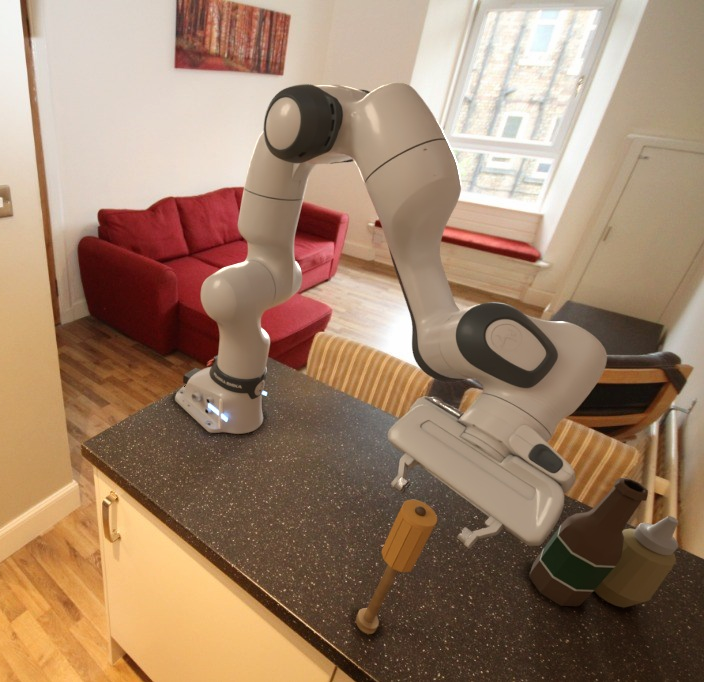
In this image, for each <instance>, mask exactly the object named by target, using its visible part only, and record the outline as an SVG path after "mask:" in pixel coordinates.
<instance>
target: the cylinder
mask: <svg viewBox="0 0 704 682" xmlns="http://www.w3.org/2000/svg"><path fill="white" fill-rule="evenodd" d="M437 522H438V516H437V514H436V512H435V510H434V509H433V508H432V507H431V506H429V504H427V503H426V502H423V501H420V500H418V499H407V500H405V501H404V502H403V503H402V505H401V508H400V509H399V511H398V513H397V516H396V518H395V520H394V522H393V524H392V526H391V529H390V531H389V533H388V535H387V538H386V540H385V541H384V545H383V547H382V548H381V556H382V559H383V561H384V562H385V563H386V564H387V565H389V566H390V567H391V568H392V569H395V570H397V571H398V572H399V573H408V572H409V573H410V572H412V570H413V569H414V567H415V565H416V563H417V561H418V559H419V557H420V555H421V554H422V551H423V549H424V547H425V545H426V543H427V542H428V540H429V538H430V537H431V534H432V532H433V530H434V528H435V527H436V524H437Z"/></svg>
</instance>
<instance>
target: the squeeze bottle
mask: <svg viewBox="0 0 704 682" xmlns="http://www.w3.org/2000/svg"><path fill="white" fill-rule="evenodd" d="M678 524H679V520H678V519H677V518H675V517H674V516H672V515H668V516H666V517H664V518H662V519H661V520H659V521H657V522H656V523H654V524H652V523H650V522H641V523H639V524H638V525H637V527H635V528H625V529H624V528H623V531H622V533H623V536H624V541H623V549H622V556H621V559H620V560H619V562H618V563H617V565H616V566H615V567H614V568H613V570H612V571H611V572H610V573H609V574H608V575H607V576H606V577H605V579H604V580H603V581H602V582H601V583H600V584H599V585H598V587H597V588H596V589H595V590H594V591H593V592H594V593H595V595H597V596H598V597H599V598H601V599H602V600H604V601H605V602H606V603H608V604H611V605H613V606H615V607H619V608H628V607H632V606H635V605H638V604H643V603H646V602H649V601H650V600H651V599H652V598H653V596H654V594H655V593H656V592H657V590H658V589H659V587H660V586H661V585H662V583H663V582H664V581H665V578H666V577H667V576H668V575H669V573H670V571H672V569H673V567H674V566H675V564H676V563H677V558H676V555H675V553H674V552H676V550H678V548H679V543H678V540H677V539H676V538H675V537H674V534H675V531H676V529H677V526H678Z"/></svg>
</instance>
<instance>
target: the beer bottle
mask: <svg viewBox="0 0 704 682" xmlns="http://www.w3.org/2000/svg"><path fill="white" fill-rule="evenodd" d="M648 495H649V490H648V489H647V488H646V486H644V485H642V484H641V483H640V482H638V481H636V480H633V479H631V478H628V477H619V478H617V479H615V480H614V485H613V487H612V488H611V489H610V490H609V491H608V493H606V494H605V496H604V497H602V499H601V500H600V501H599V502H598V503H597V505H596V506H594V507H593V508H592V509H590V510H589V511H586V512H578V513H574V514H572V515H570V516H568V517H566V518H565V519H564V521H563V522H562V523H561V524H560V525H559V526H558V528H557V530H556V531H555V532H554V533H553V535H552V537H550V539H549V540H548V542H547V543H546V544H545V546H544V547H543V548H542V550H541V551H540V553H539V554H538V556H537V557H536V558H535V560H534V562H533V563H532V565H531V569H530V571H529V575H528V577H529V579H530V581H531V582H532V583H533V585H534V586H535V588H536V590H537V591H538V592H539V594H541V595H542V596H544V597H545V598H547V599H549V600H550V601H552V602H554V603H555V604H557V605H558V606H561V607H580V606H581V605H582V604H583V603H584V602H585V601H586V600H587V599H588V598H589V597H590V596H591V595H592V593H593V592H594V590H595V589H596V588H597V587H598V585H599V584H600V583H601V582H602V581H603V580H604V579H605V577H606V576H607V575H608V574H609V573H610V572H611V571H612V570H613V568H614V567H615V566H616V565H617V563H618V562H619V560H620V559H621V556H622V549H623V541H624V536H623V533H622V531H623V530H624V528H625V526H626V525H627V523H629V521H630V519H631V518H632V516H633V515H634V513H635V512H636V511H637V509H638V507H639V506H640V505H641V503H642V501H643V502H644V501H645V502H646V501H647V499H648Z"/></svg>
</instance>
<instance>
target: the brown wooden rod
mask: <svg viewBox="0 0 704 682" xmlns="http://www.w3.org/2000/svg"><path fill="white" fill-rule="evenodd" d="M398 573H399V571H397V570H395V569H392V568H391V567H390V566H389V565H388V564H387V565H386V568H385V571H384V572H383V574H382V576H381V578H380V580H379V583H378V584H377V587H376V588H375V591H374V593H373V595H372V597H371V600H370V601H369V603H368V605H367V608H365V607H364V608H361V609H359V610H358V612H357V614H356V616H355V624H356V626H357V628H358V629H359V630H360V631H361V632H362V633H364V634H366V635H372V634H375V632H376V631H377V629H378V627H379V624H380V621H379V617H378V612H379V611H380V609H381V606H382V605H383V603H384V601H385V598H386V596H387V595H388V593H389V592H390V588H391V587H392V585H393V583H394V580H395V579H396V576H397V574H398Z"/></svg>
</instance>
